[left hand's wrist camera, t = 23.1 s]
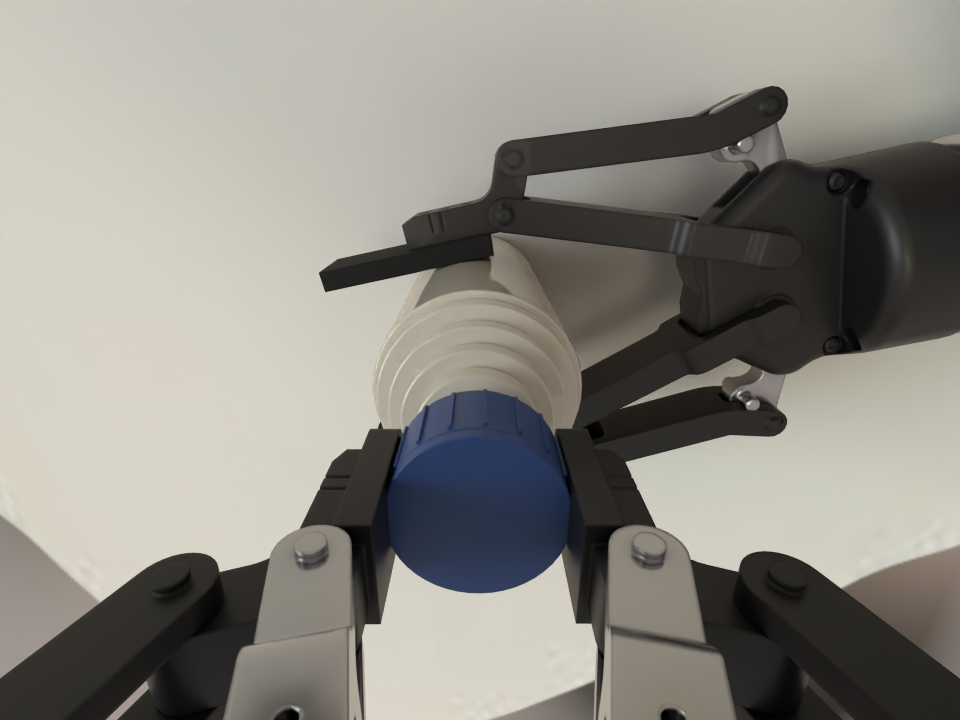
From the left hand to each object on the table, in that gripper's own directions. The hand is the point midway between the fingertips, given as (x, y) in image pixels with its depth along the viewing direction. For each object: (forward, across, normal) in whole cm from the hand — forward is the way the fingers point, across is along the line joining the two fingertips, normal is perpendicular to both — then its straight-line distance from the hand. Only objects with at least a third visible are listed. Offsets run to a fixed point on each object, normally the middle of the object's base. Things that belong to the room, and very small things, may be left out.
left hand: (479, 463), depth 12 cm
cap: (-2, 0, 0) cm, 2 cm away
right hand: (+10, -5, -1) cm, 11 cm away
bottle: (+16, 0, 0) cm, 16 cm away
